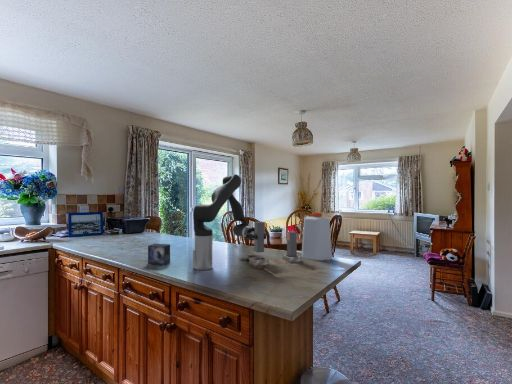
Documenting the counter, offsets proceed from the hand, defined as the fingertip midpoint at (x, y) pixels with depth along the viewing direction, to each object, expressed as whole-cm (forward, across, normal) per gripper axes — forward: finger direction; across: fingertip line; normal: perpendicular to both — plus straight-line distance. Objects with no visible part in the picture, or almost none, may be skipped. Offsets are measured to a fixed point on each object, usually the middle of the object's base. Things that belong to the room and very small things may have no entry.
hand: (261, 237), depth 148 cm
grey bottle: (-5, +38, +16) cm, 42 cm away
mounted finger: (-2, +20, +14) cm, 25 cm away
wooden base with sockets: (-2, +10, +16) cm, 19 cm away
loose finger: (-3, 0, +8) cm, 8 cm away
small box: (-27, -50, +16) cm, 60 cm away
